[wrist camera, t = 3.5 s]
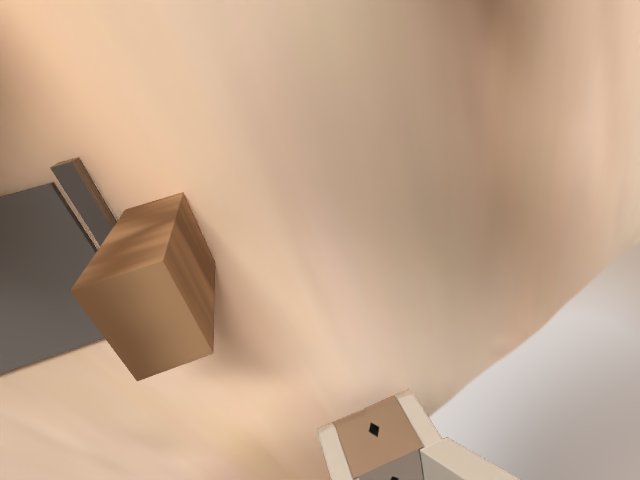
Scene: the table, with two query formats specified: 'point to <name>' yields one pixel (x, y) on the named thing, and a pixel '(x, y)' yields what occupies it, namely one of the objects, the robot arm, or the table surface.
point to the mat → (41, 277)
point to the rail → (85, 197)
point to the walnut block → (152, 288)
